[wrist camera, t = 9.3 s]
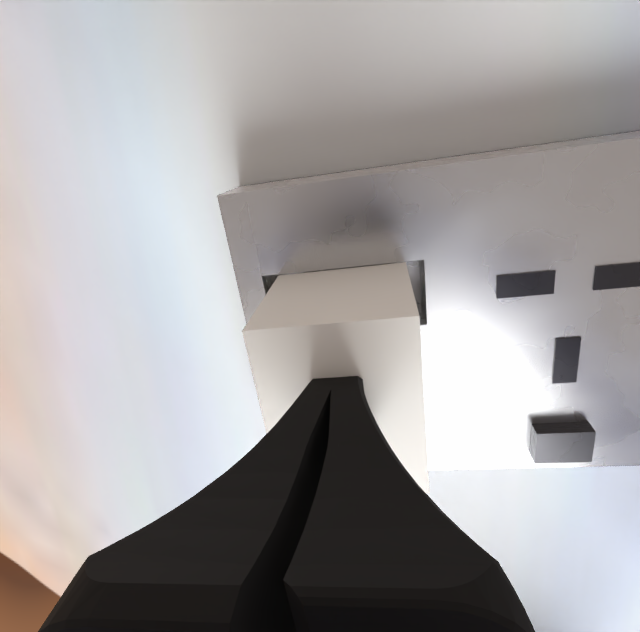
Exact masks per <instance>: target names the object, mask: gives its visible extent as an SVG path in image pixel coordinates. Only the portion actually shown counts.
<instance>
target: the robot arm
mask: <svg viewBox="0 0 640 632" xmlns="http://www.w3.org/2000/svg"><path fill="white" fill-rule="evenodd" d="M38 632H535V631H534V629H533V626H532V624H531V622H530V620H529V617H528V615H527V613H526V611H525V609H524V607H523V605H522V603H521V601H520V599H519V597H518V595H517V594H516V592H515V590H514V588H513V586H512V585H511V583H510V581H509V579H508V578H507V576H506V574H505V573H504V571H503V569H502V567H501V566H500V564H499V562H498V561H497V560H496V559H494V558H493V557H492V556H491V555H489V554H488V553H487V552H486V551H485V550H484V549H482V548H481V547H480V546H479V545H478V544H476V543H475V542H474V541H473V540H472V539H471V538H470V537H469V536H467V535H466V534H465V533H464V532H463V531H462V530H461V529H460V528H459V527H458V526H457V525H456V524H455V523H454V522H453V521H452V520H451V519H450V518H448V517H447V516H446V515H445V514H444V513H443V512H442V511H441V509H440V508H439V507H438V506H437V505H436V504H435V503H434V502H433V501H432V500H431V498H430V497H429V496H428V495H427V494H426V493H425V492H424V491H423V490H422V489H421V487H420V486H419V485H418V484H417V483H416V482H415V480H414V479H413V478H412V476H411V475H410V474H409V473H408V471H407V470H406V469H405V467H404V466H403V465H402V463H401V462H400V460H399V459H398V458H397V456H396V455H395V453H394V452H393V450H392V449H391V447H390V445H389V444H388V442H387V440H386V439H385V437H384V435H383V434H382V432H381V430H380V428H379V426H378V424H377V422H376V420H375V418H374V416H373V414H372V412H371V410H370V407H369V405H368V402H367V399H366V396H365V393H364V385H363V379H362V378H360V377H359V376H348V377H333V378H316V379H312V380H311V381H310V382H309V384H308V385H307V386H306V387H305V389H304V390H303V391H302V393H301V394H300V395H299V397H298V398H297V399H296V400H295V402H294V403H293V404H292V405H291V407H290V408H289V409H288V410H287V411H286V413H285V414H284V415H283V416H282V417H281V419H280V420H279V421H278V422H277V423H276V424H275V426H274V427H273V428H272V429H271V430H270V431H269V432H268V433H267V434H266V435H265V436H264V437H263V438H262V439H261V440H260V441H259V443H258V444H257V445H256V446H255V447H254V448H253V449H252V450H250V451H249V452H248V453H247V454H246V455H245V456H244V457H243V458H242V459H241V460H239V461H238V462H237V463H236V464H235V465H234V466H232V467H231V468H230V469H229V470H228V471H226V472H225V473H224V474H223V475H221V476H220V477H219V478H217V479H216V480H215V481H213V482H212V483H211V484H209V485H208V486H207V487H205V488H204V489H203V490H201V491H200V492H199V493H197V494H196V495H194V496H193V497H192V498H190V499H189V500H187V501H186V502H184V503H183V504H181V505H180V506H178V507H177V508H175V509H173V510H172V511H170V512H169V513H167V514H165V515H164V516H162V517H160V518H159V519H157V520H156V521H154V522H152V523H151V524H149V525H147V526H145V527H144V528H142V529H140V530H138V531H136V532H134V533H133V534H131V535H129V536H127V537H125V538H123V539H121V540H119V541H118V542H116V543H114V544H112V545H110V546H108V547H106V548H104V549H102V550H101V551H98V552H96V553H94V554H92V555H90V556H89V557H88V558H87V559H86V561H85V562H84V563H83V565H82V566H81V568H80V569H79V571H78V572H77V574H76V575H75V577H74V578H73V580H72V581H71V583H70V584H69V586H68V587H67V589H66V590H65V592H64V593H63V595H62V596H61V598H60V599H59V601H58V602H57V604H56V605H55V607H54V609H53V610H52V611H51V613H50V614H49V616H48V617H47V619H46V621H45V622H44V623H43V625H42V626H41V628H40V630H39V631H38Z"/></svg>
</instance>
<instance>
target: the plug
mask: <svg viewBox="0 0 640 632" xmlns="http://www.w3.org/2000/svg"><path fill="white" fill-rule="evenodd" d="M242 332H243V337H244V341H245V345H246V349H247V353H248V358H249V362H250V366H251V370H252V374H253V378H254V383H255V387H256V391H257V395H258V399H259V404H260V408H261V412H262V416H263V420H264V425H265V429H266V433H268V432H269V431H270V430H271V429H272V428H273V427H274V426H275V424H276V423H277V422H278V421H279V420H280V419H281V417H282V416H283V415H284V414H285V413H286V411H287V410H288V409H289V408H290V407H291V405H292V404H293V403H294V402H295V400H296V399H297V398H298V397H299V395H300V394H301V393H302V391H303V390H304V389H305V387H306V386H307V385H308V384H309V382H310V381H311V380H312V379H316V378H333V377H348V376H359V377H360V378H362V379H363V385H364V393H365V396H366V399H367V402H368V405H369V407H370V410H371V412H372V414H373V416H374V418H375V420H376V422H377V424H378V426H379V428H380V430H381V432H382V434H383V435H384V437H385V439H386V440H387V442H388V444H389V445H390V447H391V449H392V450H393V452H394V453H395V455H396V456H397V458H398V459H399V460H400V462H401V463H402V465H403V466H404V467H405V469H406V470H407V471H408V473H409V474H410V475H411V476H412V478H413V479H414V480H415V482H416V483H417V484H418V485H419V486H420V487H421V489H422V490H423V491H424V492H425V493H426V494H427V493H429V475H428V458H427V440H426V422H425V405H424V387H423V369H422V352H421V334H420V316H419V312H418V308H417V304H416V300H415V296H414V293H413V289H412V285H411V281H410V277H409V273H408V269H407V265H406V262H402V263H393V264H383V265H374V266H364V267H355V268H345V269H336V270H326V271H317V272H307V273H298V274H288V275H279V276H278V277H277V279H276V280H275V282H274V283H273V285H272V286H271V288H270V289H269V291H268V292H267V294H266V295H265V297H264V298H263V300H262V301H261V303H260V304H259V306H258V308H257V309H256V311H255V312H254V314H253V315H252V317H251V318H250V320H249V321H248V323H247V324H246V326H245V327H244V329H243V330H242Z"/></svg>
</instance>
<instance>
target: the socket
mask: <svg viewBox="0 0 640 632" xmlns="http://www.w3.org/2000/svg"><path fill="white" fill-rule="evenodd" d="M217 197H218V201H219V206H220V210H221V215H222V219H223V223H224V228H225V232H226V236H227V241H228V245H229V249H230V254H231V258H232V262H233V267H234V271H235V275H236V280H237V284H238V288H239V293H240V297H241V301H242V306H243V310H244V314H245V319H246V323H248V321H249V320H250V318H251V317H252V315H253V314H254V312H255V311H256V309H257V308H258V306H259V304H260V303H261V301H262V300H263V298H264V297H265V295H266V294H267V292H268V291H269V289H270V288H271V286H272V285H273V283H274V282H275V280H276V279H277V277H278V276H279V275H288V274H298V273H307V272H317V271H326V270H336V269H345V268H355V267H364V266H374V265H383V264H393V263H402V262H406V265H407V269H408V273H409V277H410V281H411V285H412V289H413V293H414V296H415V300H416V304H417V308H418V312H419V316H420V334H421V352H422V369H423V387H424V405H425V422H426V440H427V458H428V470H469V469H512V468H554V467H597V466H639V465H640V131H633V132H626V133H619V134H612V135H605V136H598V137H590V138H583V139H576V140H569V141H562V142H554V143H547V144H540V145H533V146H526V147H519V148H511V149H504V150H497V151H490V152H483V153H476V154H468V155H461V156H454V157H447V158H440V159H433V160H425V161H418V162H411V163H404V164H397V165H389V166H382V167H375V168H368V169H361V170H354V171H346V172H339V173H332V174H325V175H318V176H311V177H303V178H296V179H289V180H282V181H275V182H268V183H260V184H253V185H246V186H239V187H237V188H234V189H232V190H229V191H227V192H225V193H222V194H220V195H218V196H217Z"/></svg>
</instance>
